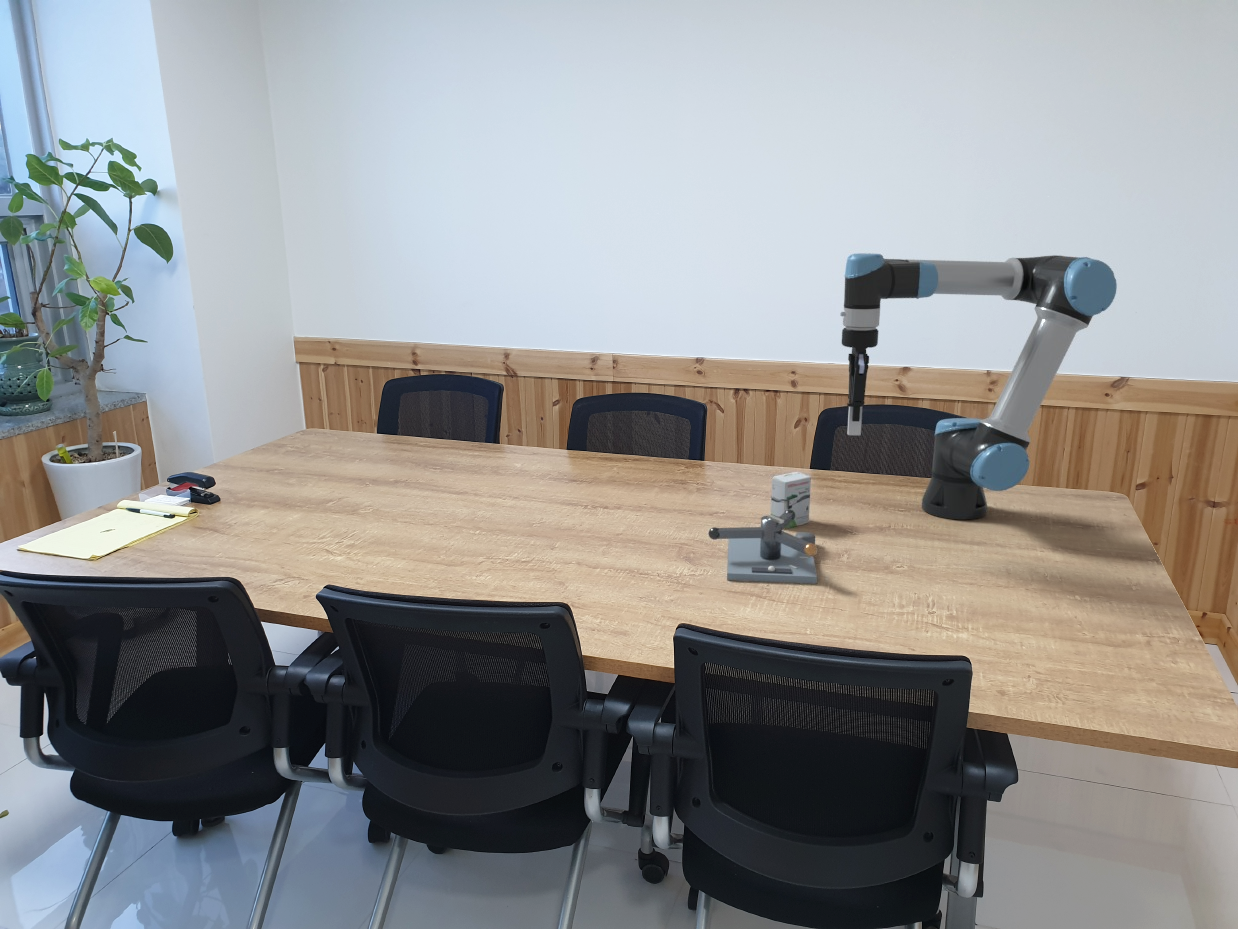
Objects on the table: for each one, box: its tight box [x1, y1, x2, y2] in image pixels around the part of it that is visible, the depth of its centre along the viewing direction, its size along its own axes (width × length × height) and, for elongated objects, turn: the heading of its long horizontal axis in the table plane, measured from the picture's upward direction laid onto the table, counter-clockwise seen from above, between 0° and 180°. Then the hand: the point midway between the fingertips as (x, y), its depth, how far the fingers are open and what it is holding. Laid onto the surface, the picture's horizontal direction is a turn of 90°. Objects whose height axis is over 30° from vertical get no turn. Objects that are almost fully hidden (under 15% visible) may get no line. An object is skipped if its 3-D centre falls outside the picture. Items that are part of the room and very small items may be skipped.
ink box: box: [770, 471, 812, 530], centre depth 216 cm, size 9×5×12 cm, turn 123°
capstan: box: [708, 510, 818, 560], centre depth 190 cm, size 21×23×9 cm
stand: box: [726, 531, 818, 585], centre depth 195 cm, size 19×23×3 cm
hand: (853, 434), depth 201 cm, fingers closed
